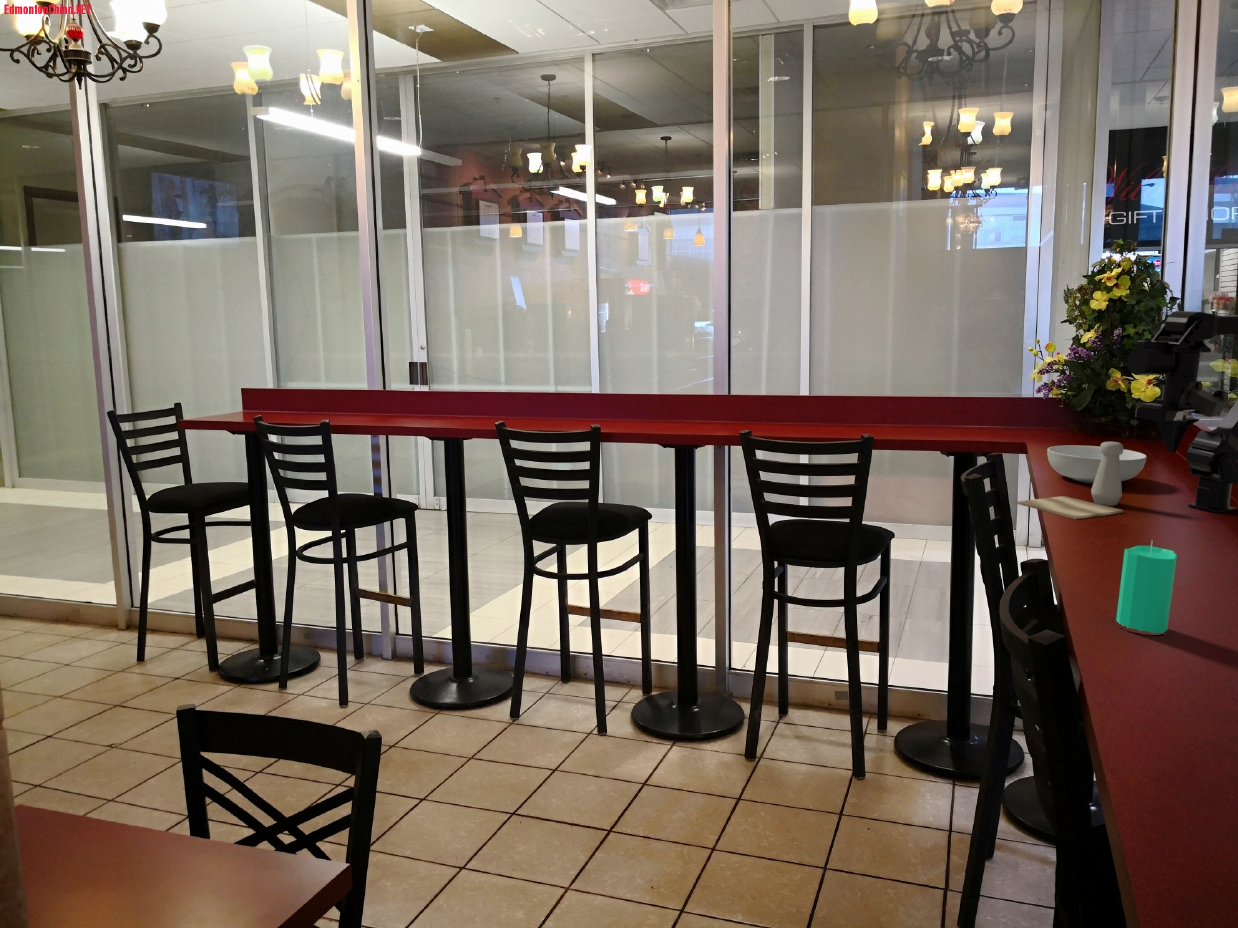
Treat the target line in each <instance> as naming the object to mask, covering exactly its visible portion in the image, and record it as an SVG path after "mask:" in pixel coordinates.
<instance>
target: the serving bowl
mask: <svg viewBox="0 0 1238 928" xmlns="http://www.w3.org/2000/svg"><path fill="white" fill-rule="evenodd" d="M1046 452H1047V455H1046V456H1047V459H1048V463H1049V465H1050V466H1051V468H1053V470H1055V472H1057V473H1058V474H1060V475H1062V476H1064V477H1066V478H1069V479H1072V480H1074V481H1077V482H1080V483H1084V484H1085V483H1086V484H1093V483H1094V480H1095V477H1096V474H1097V471H1098V468H1099V465H1100V462H1101V459H1102V456H1103V453H1101V452H1100V446H1097V445H1055V446H1050V447H1048V448H1047V451H1046ZM1119 458H1120V473H1121V482H1124V481H1127V480H1130V479H1133V478H1134V477H1136V476H1137V475H1138V474H1140V473H1141V471H1142V470H1143V468H1144V467H1145V464H1146V461H1147V455H1146V454H1144V453H1142V452H1139V451H1134V450H1130V449H1124V448H1123V453H1122V454H1121V455H1119Z"/></svg>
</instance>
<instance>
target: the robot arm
mask: <svg viewBox="0 0 1238 928" xmlns="http://www.w3.org/2000/svg"><path fill="white" fill-rule="evenodd" d="M1223 335H1225V336H1226V335H1238V315H1236V314H1235V315H1217V314H1215V313H1210V312H1209V313H1208V312H1205V311H1204V312H1203V311H1187V310H1186V311H1185V310H1175V311H1172V312H1171V313H1170V315H1168V317H1167V318H1166V320H1165V323H1163V325H1162V326H1161V328H1159V330H1158V331H1157V332H1156V334H1155V335H1154V337H1153V338H1152V339H1151V340H1144V339H1142V340H1141V339H1139V340H1137V344H1136V346H1135V347H1134V348H1132V350H1131V352H1129V355H1128V356H1127V366H1128V370H1129V371H1130V373H1131V374H1133V375H1134V376H1164V377H1163V378H1159V380H1158V385H1162V393H1161V394H1162V395H1161V399H1156V403H1153V402H1146V403H1140V404H1139V405H1138V406H1136V407H1135V415H1134V417H1135V418H1136V419H1137V418H1138V419H1144V420H1145V419H1146V420H1152V421H1153V422H1154V423H1155V426H1156V427H1157V429H1158V431H1159V434H1160V437H1161V438H1162V442H1163V444H1164V446H1165V449H1166V451H1167V453H1171V454H1173V453H1176V451H1177V450H1178V447H1179V445H1180V443H1181V442H1182V439H1183V437H1184V436H1185V433H1186V432H1187V430H1188V428H1189V427H1190V426H1192V425H1194V424H1195V423H1198V422H1199V421H1200V418H1194V417H1193V416H1194V414H1197V415H1202V416H1204V417H1208V418H1213V417H1220V416H1221V414H1222V413H1223V410H1224V409H1228V408H1229V402H1230V400H1229V392H1227V391H1225V390H1223V389H1218V390H1216V391H1213V392H1212V391H1207V390H1205V389H1203V385H1204V383H1203V381H1202V380H1198V378H1199V377H1198V376H1199V367H1200V361H1201V354H1203V353H1207V354H1208V353H1211V351H1212V349H1211V348H1210V347H1209V346H1208V344H1206V343H1205V341H1207V340H1210V339H1214V338H1215V337H1217V336H1218V337H1219V336H1223ZM1187 446H1189V448H1188V450H1186V458H1187V460H1186V461H1187V464H1188V467H1189V473H1190V476H1193V477H1198V481H1197V487H1196V496H1195V502H1191V503H1188V504H1187V507H1191V508H1196V509H1199V510H1204V511H1209V512H1214V513H1217V514H1218V513H1225V512H1232V511H1237V507H1235V506H1230V501H1231V496H1232V495H1231V494H1232V490H1233V489H1232V488H1233V485H1237V484H1238V399H1237V400H1236V402H1235V403H1234V404H1233V406H1232V407H1231V408H1230V410H1229V411H1228V412H1227V413H1226V414H1225V416H1224V417H1223V419H1222V420H1221V421H1220V423H1219V424H1218V426H1216V427H1215V428H1213V430H1210V431H1209V430H1204V429H1201V430H1199V432H1197V434H1196V436H1195V438H1194V439H1193V441H1191V442H1190V443H1189V444H1188V445H1187Z"/></svg>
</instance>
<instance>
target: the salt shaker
mask: <svg viewBox="0 0 1238 928" xmlns="http://www.w3.org/2000/svg"><path fill="white" fill-rule="evenodd" d="M1099 447H1100V452H1101V453H1103V456H1102V459H1101V462H1100V465H1099V468H1098V471H1097V474H1096V477H1095V480H1094V483H1092V487H1091V491H1090V492H1091V493H1090V494H1091V497H1092V499H1093V503H1095V504H1099V505H1103V506H1108V507H1113V506H1117V505H1118V503H1119V501H1120V499H1121V498H1122V496H1123V495H1122V494H1123V491H1122V481H1121V473H1120V458H1119V455H1121V454H1122V453H1123V449H1124V445H1123V444H1122V443H1120V442H1117V441H1104V442H1102V443H1100V446H1099Z"/></svg>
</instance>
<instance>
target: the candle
mask: <svg viewBox="0 0 1238 928" xmlns="http://www.w3.org/2000/svg"><path fill="white" fill-rule="evenodd" d="M1153 543H1154V542H1153V539H1151V542H1150V545H1136V546H1133V547H1130V548H1125V549H1124V553H1123V561H1122V570H1121V579H1120V586H1119V594H1118V595H1119V596H1118V603H1117V609H1116V610H1117V611H1116V619H1115V620H1116V621H1117V622H1118V623H1119V624H1121V625H1122V626H1126V627H1127V628H1131V629H1137V630H1139V631H1147V632H1151V633H1164V632H1165V631H1166V630H1167V631H1168V627H1169V619H1170V610H1171V603H1172V597H1173V591H1174V590H1173V589H1174V581H1175V574H1176V573H1175V572H1176V565H1177V558H1178V555H1177V554H1176V553H1175V551H1174V550H1170V549H1166V548H1161V547H1157V546H1153ZM1116 621H1115V622H1116Z"/></svg>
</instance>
